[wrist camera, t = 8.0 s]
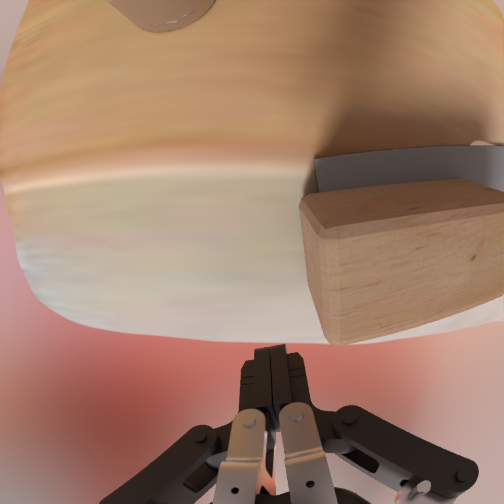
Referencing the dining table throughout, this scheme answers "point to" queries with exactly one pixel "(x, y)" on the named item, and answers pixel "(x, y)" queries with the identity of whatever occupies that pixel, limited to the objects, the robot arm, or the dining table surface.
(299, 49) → the dining table surface
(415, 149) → the rubber mat
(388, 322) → the wooden block
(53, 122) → the dining table surface
